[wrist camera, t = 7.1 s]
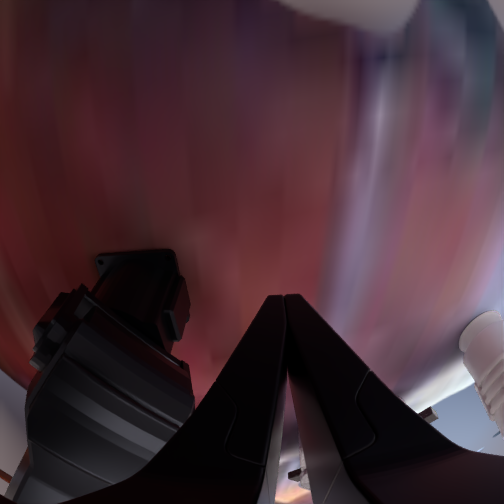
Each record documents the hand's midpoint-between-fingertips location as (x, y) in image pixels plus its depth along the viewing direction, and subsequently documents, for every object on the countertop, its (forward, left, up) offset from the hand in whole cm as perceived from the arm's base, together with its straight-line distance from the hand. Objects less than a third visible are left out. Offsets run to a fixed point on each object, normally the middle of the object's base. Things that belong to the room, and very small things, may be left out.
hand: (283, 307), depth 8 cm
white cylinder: (+22, -17, -13) cm, 31 cm away
